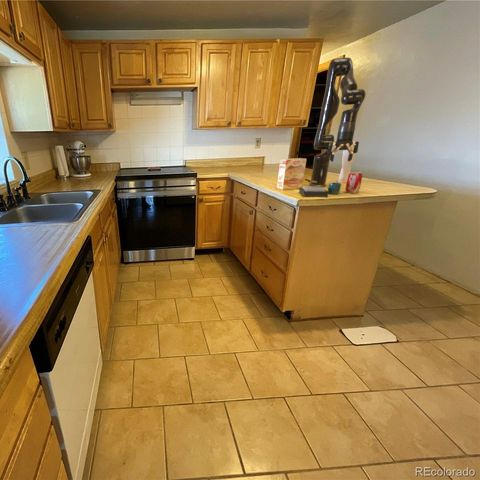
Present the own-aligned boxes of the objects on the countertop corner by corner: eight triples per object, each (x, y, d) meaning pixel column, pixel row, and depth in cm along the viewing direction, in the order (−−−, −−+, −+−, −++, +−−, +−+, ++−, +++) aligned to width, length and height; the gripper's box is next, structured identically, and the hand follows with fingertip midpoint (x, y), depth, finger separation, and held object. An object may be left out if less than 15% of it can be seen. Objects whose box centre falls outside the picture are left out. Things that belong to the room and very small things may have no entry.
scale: (298, 192, 168) (299, 187, 167) (321, 192, 165) (322, 187, 164) (303, 196, 156) (304, 191, 155) (328, 197, 152) (329, 192, 151)
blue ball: (325, 192, 164) (327, 182, 162) (337, 192, 163) (339, 182, 160) (328, 194, 159) (330, 184, 157) (340, 194, 157) (342, 184, 155)
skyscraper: (346, 183, 188) (354, 141, 178) (334, 182, 194) (342, 141, 184) (351, 182, 192) (360, 141, 182) (340, 181, 198) (348, 141, 188)
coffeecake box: (282, 190, 176) (286, 159, 169) (276, 188, 183) (279, 159, 176) (302, 188, 179) (307, 158, 172) (295, 186, 185) (299, 157, 178)
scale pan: (302, 188, 165) (302, 186, 165) (320, 188, 162) (320, 186, 162) (306, 191, 156) (306, 189, 156) (325, 192, 154) (325, 189, 153)
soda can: (360, 193, 157) (365, 172, 153) (347, 193, 159) (352, 173, 154) (355, 191, 164) (359, 171, 159) (342, 191, 165) (346, 171, 161)
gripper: (358, 130, 147) (352, 160, 153) (329, 131, 151) (324, 160, 157) (364, 130, 140) (357, 161, 146) (333, 131, 144) (328, 162, 150)
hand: (340, 161), depth 152 cm, fingers open, 8 cm apart
